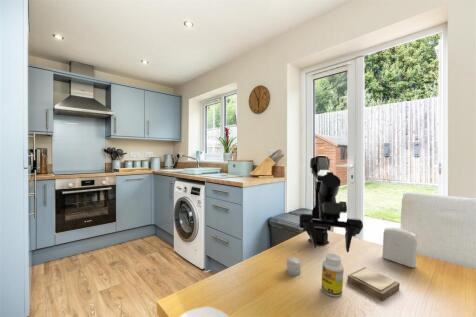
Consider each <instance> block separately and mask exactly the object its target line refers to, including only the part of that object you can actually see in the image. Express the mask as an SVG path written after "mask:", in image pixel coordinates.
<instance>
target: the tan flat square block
mask: <svg viewBox="0 0 476 317" xmlns="http://www.w3.org/2000/svg"><path fill="white" fill-rule="evenodd" d="M346 280H347V281H346V282H347V283H349V284H350V285H353V286H354V287H356V288H358V289H360V290H361V291H364V292H365V293H368V294H369V295H370V296H372V297H373V298H374V297H375V298H376V299H378V300H380V301H381V302H382V301H385V300H386V299H387V298H389V297H390V296H392V295H393V294H395V293H396V292H397V291H399V290H400V282H399V281H397V280H394V279H392V278H390V277H388V276H386V275H383V274H381V273H379V272H377V271H374V270H373V269H370V268H369V267H366V266H365V267H362V268H360V269H358V270H356V271H354V272H352V273H350V274H348V275H347V279H346Z"/></svg>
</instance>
